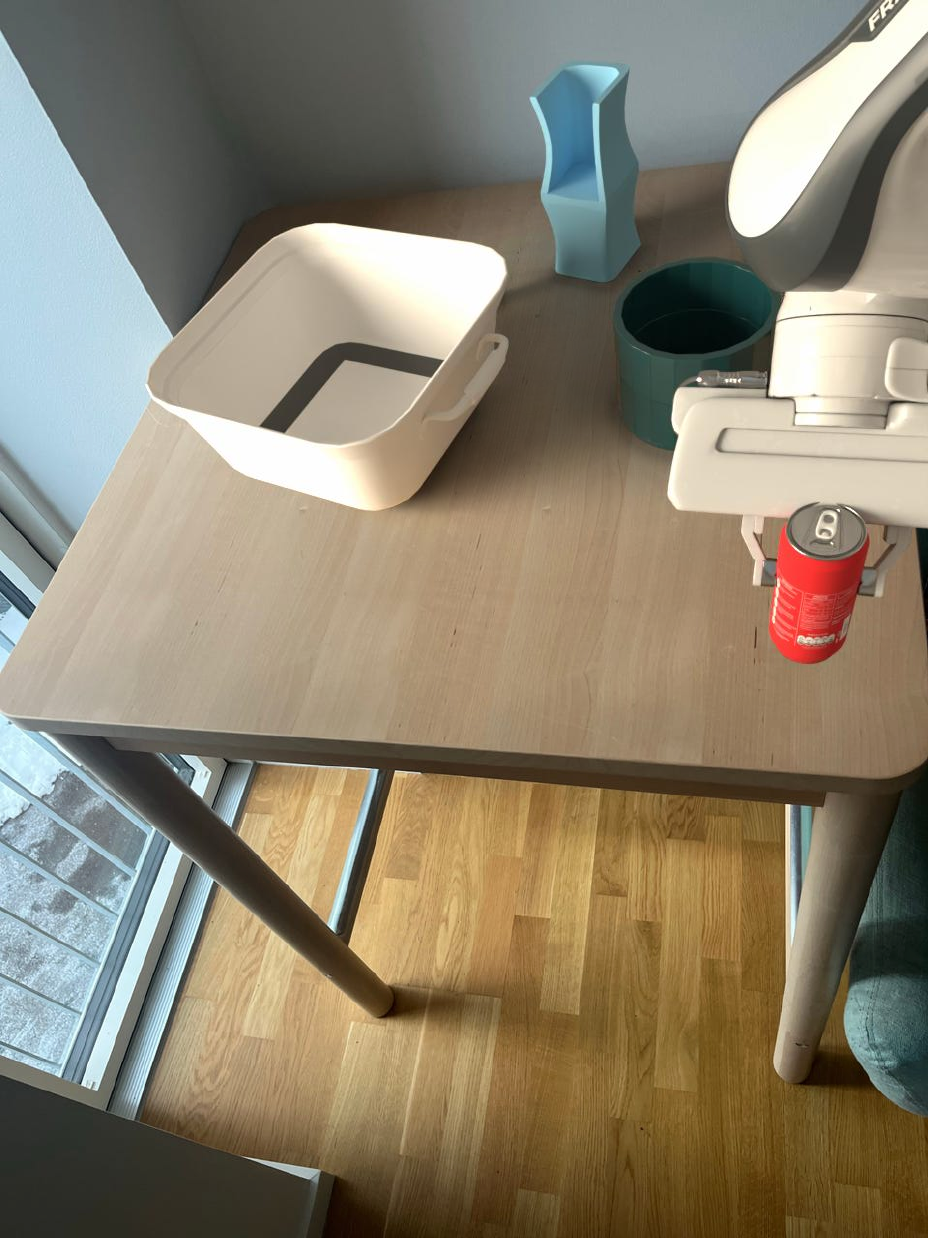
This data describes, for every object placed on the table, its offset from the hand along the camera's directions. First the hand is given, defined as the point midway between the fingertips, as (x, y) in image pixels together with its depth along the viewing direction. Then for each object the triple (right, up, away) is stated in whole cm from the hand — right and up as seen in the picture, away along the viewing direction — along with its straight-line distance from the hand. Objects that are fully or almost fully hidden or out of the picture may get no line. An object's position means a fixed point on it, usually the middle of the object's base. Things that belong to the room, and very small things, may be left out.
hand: (816, 590), depth 60 cm
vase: (-8, +40, +47) cm, 63 cm away
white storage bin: (-33, +17, +37) cm, 52 cm away
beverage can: (+1, -3, +6) cm, 7 cm away
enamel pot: (0, +20, +31) cm, 37 cm away
